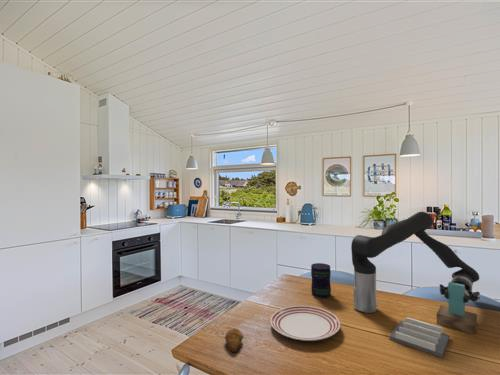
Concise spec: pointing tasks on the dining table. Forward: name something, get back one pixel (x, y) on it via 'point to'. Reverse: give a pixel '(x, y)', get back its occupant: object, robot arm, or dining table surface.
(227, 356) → the dining table surface
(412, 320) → the slotted rack
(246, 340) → the dining table surface
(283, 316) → the dinner plate
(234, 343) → the brown oval lump
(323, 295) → the storage jar
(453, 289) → the block
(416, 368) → the dining table surface
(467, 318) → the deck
